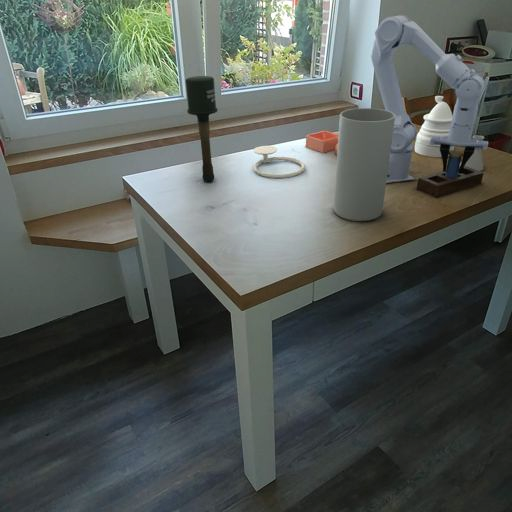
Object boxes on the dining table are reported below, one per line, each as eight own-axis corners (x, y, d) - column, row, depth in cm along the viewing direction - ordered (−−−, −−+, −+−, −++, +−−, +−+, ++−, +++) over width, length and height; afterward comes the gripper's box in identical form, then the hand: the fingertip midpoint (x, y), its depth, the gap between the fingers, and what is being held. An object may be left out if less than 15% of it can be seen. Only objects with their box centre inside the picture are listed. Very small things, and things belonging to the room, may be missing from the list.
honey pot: (406, 148, 156) (414, 96, 147) (434, 143, 161) (443, 92, 151) (433, 159, 146) (443, 104, 137) (461, 153, 151) (473, 99, 141)
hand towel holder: (272, 169, 131) (237, 151, 146) (272, 183, 133) (238, 164, 148) (316, 157, 138) (278, 141, 153) (315, 170, 141) (278, 153, 156)
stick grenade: (218, 186, 132) (210, 81, 116) (191, 185, 134) (179, 81, 118) (225, 176, 139) (218, 75, 123) (199, 174, 141) (189, 75, 125)
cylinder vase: (348, 197, 122) (356, 105, 109) (390, 209, 115) (404, 112, 102) (324, 214, 114) (330, 116, 101) (368, 227, 107) (380, 124, 94)
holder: (416, 189, 126) (418, 177, 124) (460, 176, 133) (463, 165, 132) (436, 197, 121) (438, 186, 119) (480, 183, 128) (483, 172, 126)
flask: (480, 173, 134) (488, 141, 129) (455, 169, 138) (462, 138, 133) (486, 166, 139) (494, 135, 134) (462, 162, 143) (469, 132, 138)
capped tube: (447, 185, 124) (454, 155, 120) (440, 181, 128) (446, 151, 123) (459, 184, 125) (466, 153, 120) (451, 179, 128) (458, 149, 124)
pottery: (305, 146, 162) (306, 119, 156) (324, 141, 166) (325, 115, 161) (341, 159, 149) (343, 130, 144) (360, 153, 154) (363, 125, 149)
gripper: (492, 122, 118) (480, 170, 125) (435, 117, 123) (427, 163, 130) (492, 129, 112) (479, 178, 120) (432, 124, 118) (424, 171, 125)
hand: (452, 171), depth 125 cm, fingers closed on capped tube, 3 cm apart
